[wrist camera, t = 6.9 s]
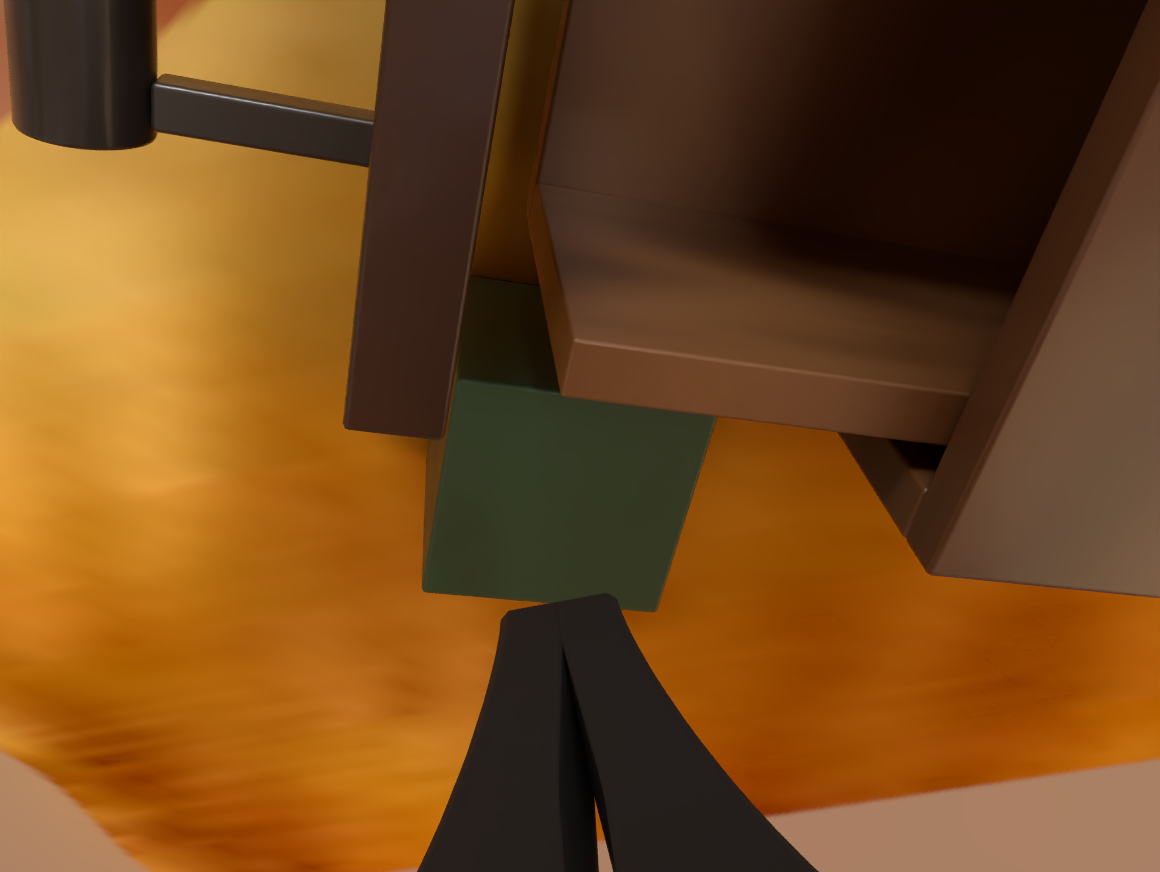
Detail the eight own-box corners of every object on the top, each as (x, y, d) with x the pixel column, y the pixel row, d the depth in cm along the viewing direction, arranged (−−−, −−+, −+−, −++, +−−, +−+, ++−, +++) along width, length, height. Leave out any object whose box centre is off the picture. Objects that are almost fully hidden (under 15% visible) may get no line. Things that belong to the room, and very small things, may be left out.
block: (454, 272, 20) (456, 378, 16) (671, 304, 21) (720, 412, 17) (425, 461, 22) (421, 593, 18) (622, 483, 23) (656, 614, 19)
